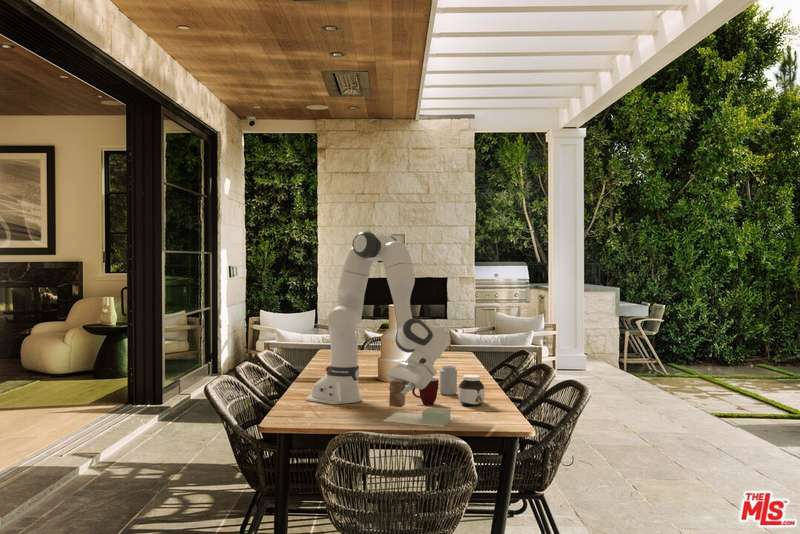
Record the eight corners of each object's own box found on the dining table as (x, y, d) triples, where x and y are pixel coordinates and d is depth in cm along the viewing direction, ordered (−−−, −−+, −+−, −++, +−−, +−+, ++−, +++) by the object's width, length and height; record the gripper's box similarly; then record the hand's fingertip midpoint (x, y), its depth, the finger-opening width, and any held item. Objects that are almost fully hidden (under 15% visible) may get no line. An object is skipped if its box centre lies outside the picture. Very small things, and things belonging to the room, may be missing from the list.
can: (455, 396, 292) (456, 368, 292) (438, 395, 294) (438, 367, 293) (457, 393, 299) (458, 365, 299) (440, 392, 301) (441, 364, 301)
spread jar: (464, 407, 269) (465, 378, 269) (451, 402, 280) (451, 373, 279) (491, 405, 274) (491, 376, 274) (477, 400, 284) (477, 372, 284)
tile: (382, 423, 240) (382, 420, 240) (396, 414, 254) (396, 412, 254) (442, 429, 233) (442, 426, 233) (453, 420, 247) (453, 417, 247)
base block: (422, 423, 238) (422, 411, 237) (428, 418, 245) (428, 407, 245) (444, 425, 235) (444, 413, 235) (450, 420, 242) (450, 409, 242)
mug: (412, 406, 271) (412, 380, 271) (412, 401, 279) (412, 377, 279) (438, 406, 271) (439, 381, 271) (437, 402, 279) (438, 377, 279)
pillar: (389, 406, 246) (390, 381, 246) (393, 403, 251) (394, 379, 251) (400, 407, 245) (401, 382, 245) (404, 405, 249) (405, 380, 249)
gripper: (398, 354, 260) (375, 381, 255) (430, 361, 243) (407, 391, 238) (407, 365, 263) (385, 392, 257) (440, 373, 246) (417, 403, 240)
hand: (396, 392), depth 247 cm, fingers closed on pillar, 6 cm apart
